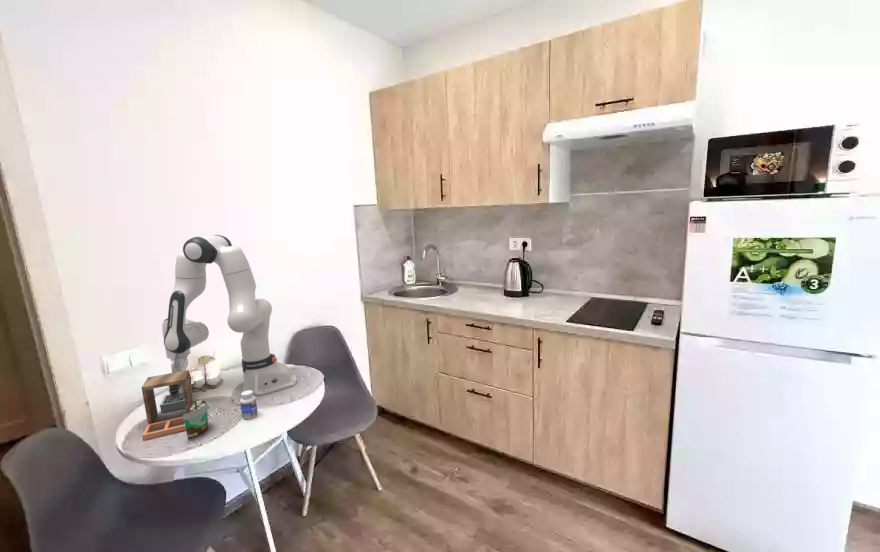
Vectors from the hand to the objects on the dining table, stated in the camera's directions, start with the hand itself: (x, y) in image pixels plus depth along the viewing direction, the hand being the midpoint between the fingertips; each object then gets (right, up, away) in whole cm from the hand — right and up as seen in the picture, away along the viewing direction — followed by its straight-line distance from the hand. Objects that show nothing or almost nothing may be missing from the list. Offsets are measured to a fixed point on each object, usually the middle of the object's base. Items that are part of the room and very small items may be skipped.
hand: (183, 380), depth 173 cm
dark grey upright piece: (+8, -6, -16) cm, 19 cm away
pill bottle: (+43, -7, -26) cm, 51 cm away
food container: (+30, -9, -35) cm, 47 cm away
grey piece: (+4, -4, -8) cm, 10 cm away
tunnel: (+13, -8, -25) cm, 29 cm away
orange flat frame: (+17, -9, -33) cm, 38 cm away
